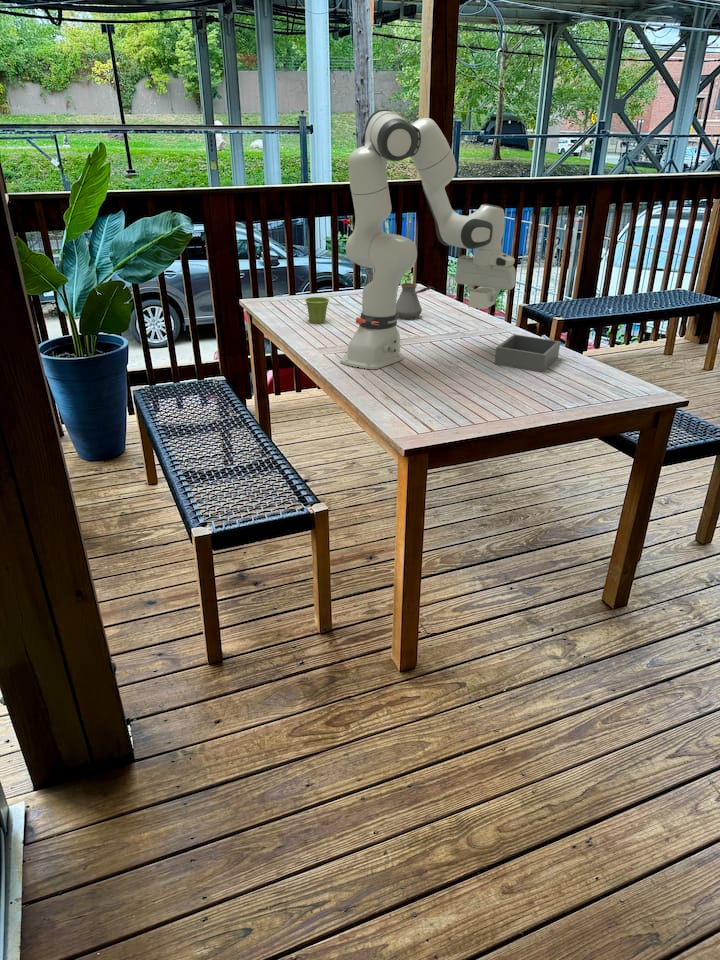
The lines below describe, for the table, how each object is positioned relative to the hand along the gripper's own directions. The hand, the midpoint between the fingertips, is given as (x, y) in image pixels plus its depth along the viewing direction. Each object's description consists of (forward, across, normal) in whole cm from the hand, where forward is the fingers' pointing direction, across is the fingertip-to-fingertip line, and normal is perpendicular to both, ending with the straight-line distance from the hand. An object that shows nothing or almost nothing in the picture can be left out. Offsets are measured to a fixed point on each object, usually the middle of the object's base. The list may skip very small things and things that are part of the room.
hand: (482, 300), depth 221 cm
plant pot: (+17, -67, 0) cm, 69 cm away
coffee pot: (+17, -36, +24) cm, 46 cm away
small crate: (+2, 0, 0) cm, 2 cm away
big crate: (+17, +19, -5) cm, 26 cm away
